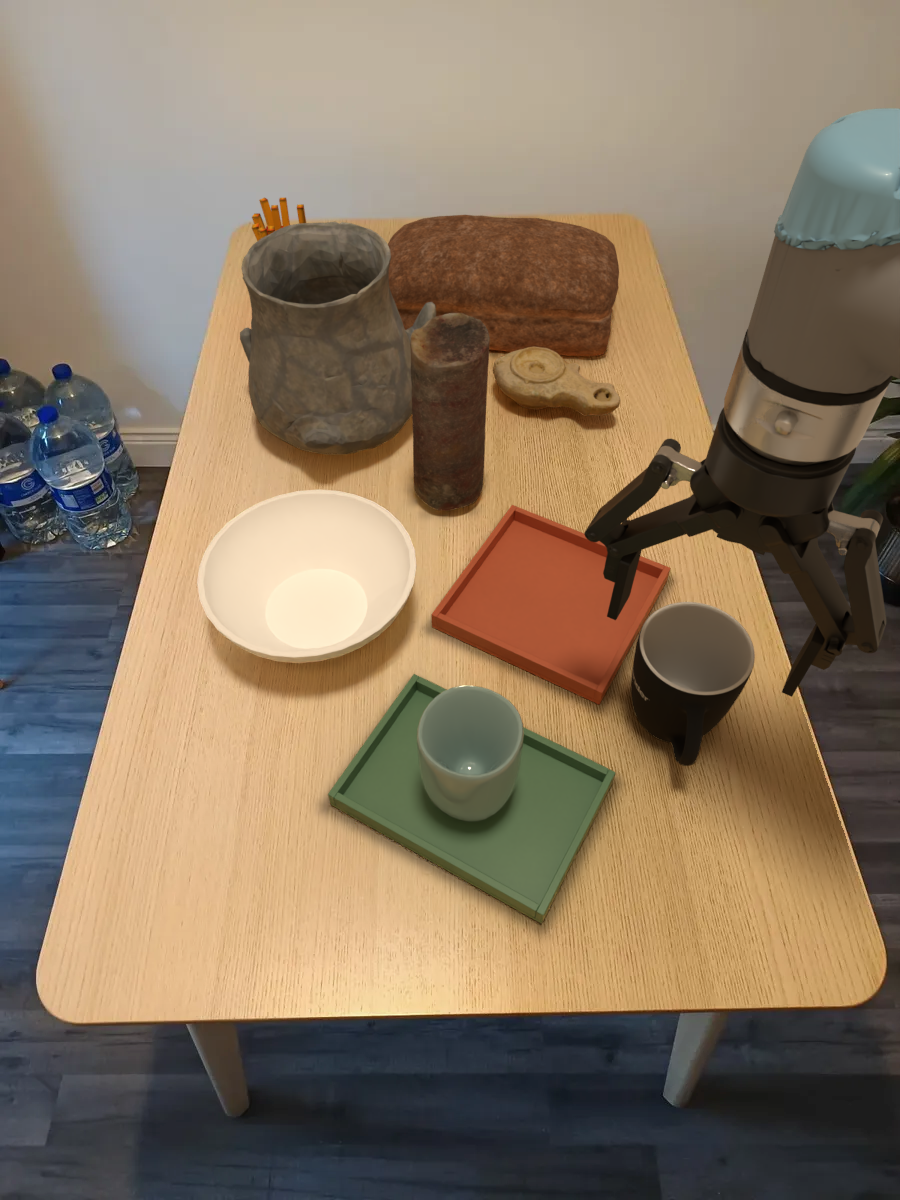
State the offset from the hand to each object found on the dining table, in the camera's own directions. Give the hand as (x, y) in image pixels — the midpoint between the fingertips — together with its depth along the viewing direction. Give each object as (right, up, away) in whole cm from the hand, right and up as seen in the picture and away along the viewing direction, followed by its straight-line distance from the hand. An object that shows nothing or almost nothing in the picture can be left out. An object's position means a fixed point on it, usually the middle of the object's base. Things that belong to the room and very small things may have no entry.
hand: (702, 642), depth 64 cm
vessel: (-32, +24, +35) cm, 53 cm away
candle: (-19, +15, +28) cm, 37 cm away
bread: (-13, +40, +47) cm, 63 cm away
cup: (-17, -12, +6) cm, 22 cm away
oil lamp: (-7, +26, +37) cm, 46 cm away
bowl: (-32, +2, +18) cm, 36 cm away
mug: (0, -8, +10) cm, 13 cm away
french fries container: (-39, +40, +48) cm, 73 cm away
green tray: (-17, -13, +6) cm, 22 cm away
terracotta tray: (-9, +3, +18) cm, 21 cm away
